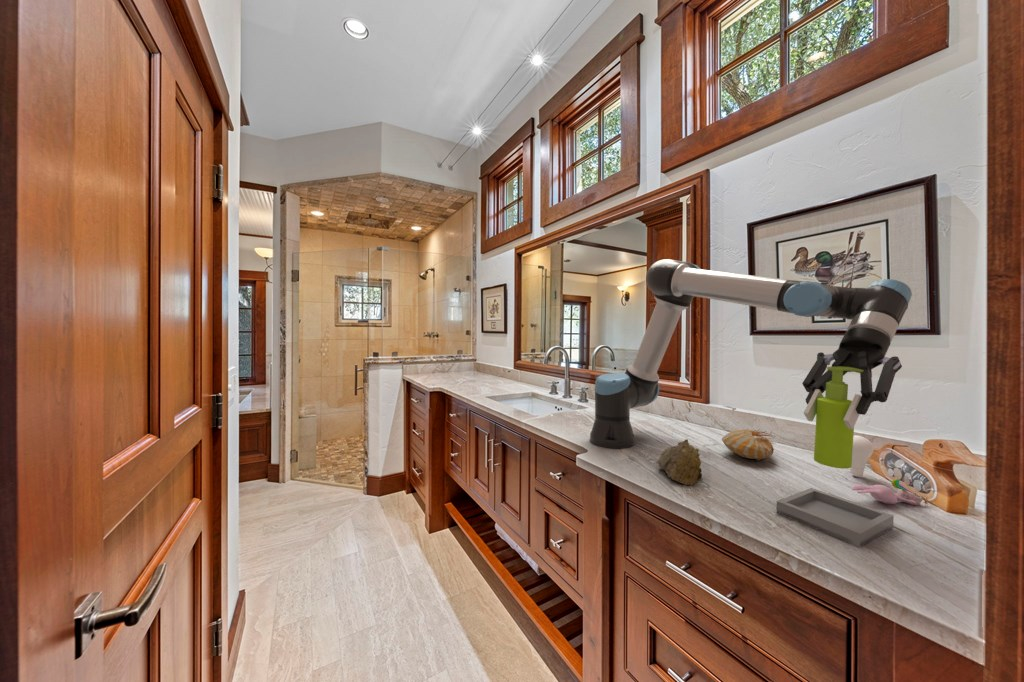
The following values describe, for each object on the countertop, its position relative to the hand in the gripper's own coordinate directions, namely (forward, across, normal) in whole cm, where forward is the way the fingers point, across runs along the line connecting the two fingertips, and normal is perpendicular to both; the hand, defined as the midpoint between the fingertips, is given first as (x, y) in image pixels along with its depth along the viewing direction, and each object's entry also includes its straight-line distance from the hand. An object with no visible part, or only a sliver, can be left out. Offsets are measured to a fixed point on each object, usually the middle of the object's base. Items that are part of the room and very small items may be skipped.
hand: (827, 420), depth 74 cm
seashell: (+19, +31, -12) cm, 38 cm away
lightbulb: (-10, +8, -40) cm, 42 cm away
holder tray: (+13, 0, -18) cm, 22 cm away
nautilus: (-4, +30, -35) cm, 46 cm away
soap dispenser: (+4, 0, -9) cm, 10 cm away
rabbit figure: (-1, -2, -32) cm, 32 cm away
